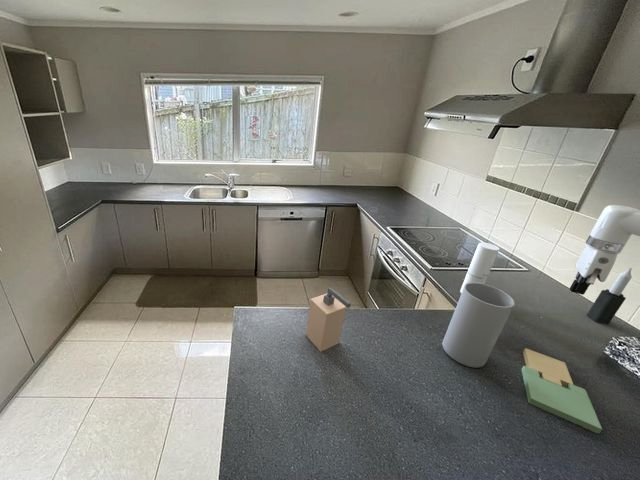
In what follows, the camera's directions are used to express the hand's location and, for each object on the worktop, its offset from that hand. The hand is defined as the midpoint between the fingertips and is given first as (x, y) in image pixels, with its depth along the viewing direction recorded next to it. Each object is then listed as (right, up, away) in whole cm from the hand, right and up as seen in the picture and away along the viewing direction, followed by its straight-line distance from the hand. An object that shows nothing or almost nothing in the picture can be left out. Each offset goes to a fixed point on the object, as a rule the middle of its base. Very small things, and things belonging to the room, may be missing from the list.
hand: (576, 291), depth 95 cm
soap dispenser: (-85, -19, +4) cm, 87 cm away
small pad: (-15, -25, -4) cm, 30 cm away
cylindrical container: (-10, -9, +34) cm, 37 cm away
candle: (+33, -17, +21) cm, 42 cm away
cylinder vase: (-38, -22, +2) cm, 44 cm away
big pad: (-21, -28, -13) cm, 37 cm away
